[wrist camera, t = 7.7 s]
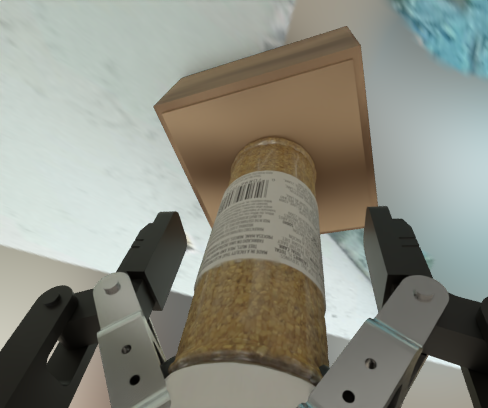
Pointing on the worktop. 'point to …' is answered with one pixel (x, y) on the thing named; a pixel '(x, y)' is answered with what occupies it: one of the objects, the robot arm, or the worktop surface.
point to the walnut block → (280, 122)
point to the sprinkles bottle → (257, 290)
